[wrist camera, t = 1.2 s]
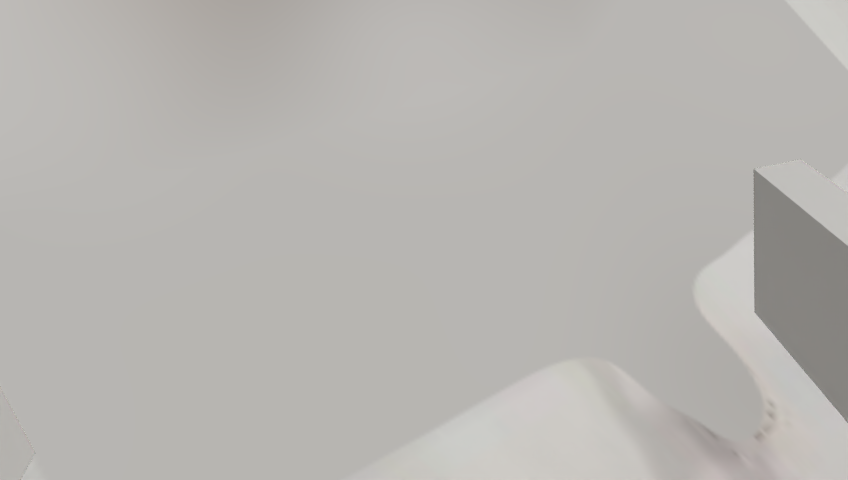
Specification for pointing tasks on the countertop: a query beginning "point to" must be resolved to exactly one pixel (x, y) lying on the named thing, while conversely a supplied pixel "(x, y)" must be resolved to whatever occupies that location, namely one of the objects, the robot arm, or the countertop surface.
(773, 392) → the countertop surface
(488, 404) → the countertop surface
